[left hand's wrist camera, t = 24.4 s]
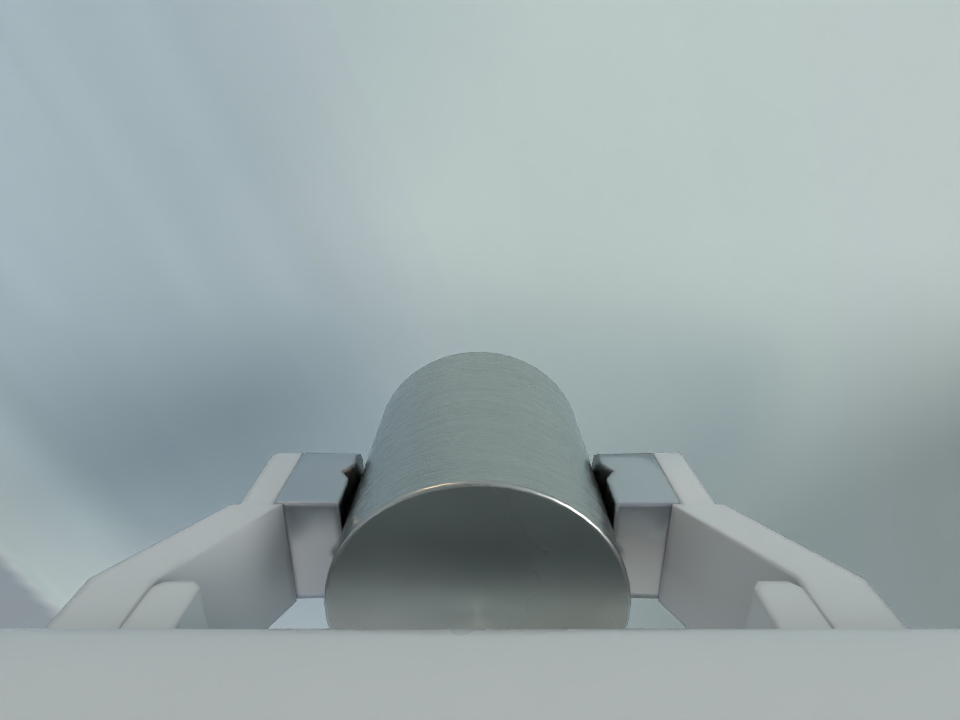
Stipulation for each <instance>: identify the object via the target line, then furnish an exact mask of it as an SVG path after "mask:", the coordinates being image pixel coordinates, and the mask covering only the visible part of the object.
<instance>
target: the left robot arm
mask: <svg viewBox="0 0 960 720" xmlns="http://www.w3.org/2000/svg"><path fill="white" fill-rule="evenodd" d="M592 469H593V472H594V475H595V478H596V481H597V484H598V487H599V490H600V493H601V496H602V499H603V502H604V505H605V508H606V511H607V514H608V517H609V520H610V523H611V526H612V528H613V531H614V534H615V537H616V540H617V543H618V546H619V549H620V552H621V555H622V558H623V561H624V564H625V567H626V570H627V574H628V578H629V583H630V592H631V598H659V599H658V601H659V602H660V603H661V604H662V605H663V606H664V607H665V608H667V609H668V610H669V611H670V612H671V613H672V614H673V615H674V616H675V617H676V618H677V619H678V620H679V621H680V622H681V623H682V624H683V625H684V626H685V627H686V628H687V629H268V628H269V627H270V626H271V625H272V624H273V623H274V622H275V621H276V620H277V619H278V618H279V617H280V616H281V615H282V614H283V613H285V612H286V611H287V610H288V609H289V608H290V607H291V606H292V605H293V604H294V603H295V602H296V598H325V584H326V579H327V575H328V570H329V568H330V565H331V562H332V559H333V556H334V553H335V550H336V548H337V545H338V542H339V539H340V536H341V533H342V531H343V528H344V525H345V522H346V519H347V516H348V514H349V511H350V508H351V505H352V502H353V499H354V496H355V494H356V491H357V488H358V485H359V482H360V479H361V477H362V474H363V471H364V466H363V459H362V457H361V455H360V454H336V453H305V454H304V453H303V452H298V453H276V454H273V455H272V456H271V458H270V459H269V461H268V462H267V464H266V465H265V467H264V468H263V470H262V472H261V473H260V475H259V476H258V478H257V479H256V481H255V482H254V484H253V485H252V487H251V488H250V490H249V491H248V493H247V494H246V496H245V497H244V499H243V500H242V502H241V503H240V504H230V505H228V506H227V507H225V508H223V509H221V510H219V511H217V512H215V513H213V514H211V515H209V516H208V517H206V518H204V519H202V520H200V521H198V522H196V523H194V524H192V525H190V526H188V527H187V528H185V529H183V530H181V531H179V532H177V533H175V534H173V535H171V536H169V537H168V538H166V539H164V540H162V541H160V542H158V543H156V544H154V545H152V546H150V547H149V548H147V549H145V550H143V551H141V552H139V553H137V554H135V555H133V556H131V557H129V558H128V559H126V560H124V561H122V562H120V563H118V564H116V565H114V566H112V567H110V568H109V569H107V570H105V571H103V572H101V573H99V574H97V575H95V576H93V577H91V578H90V579H89V580H88V581H87V582H86V583H85V584H84V585H83V586H82V587H81V589H80V590H79V591H78V592H77V593H76V594H75V595H74V596H73V597H72V599H71V600H70V601H69V602H68V603H67V604H66V605H65V606H64V608H63V609H62V610H61V611H60V612H59V613H58V614H57V615H56V617H55V618H54V619H53V620H52V621H51V622H50V623H49V624H48V625H47V627H46V628H45V629H0V720H960V629H908V628H907V627H906V626H905V625H904V623H903V622H902V621H901V620H900V619H899V618H898V617H897V615H896V614H895V613H894V612H893V611H892V610H891V609H890V607H889V606H888V605H887V604H886V603H885V602H884V601H883V599H882V598H881V597H880V596H879V595H878V594H877V593H876V591H875V590H874V589H873V588H872V587H871V586H870V584H869V583H868V582H867V581H866V580H865V579H863V578H861V577H860V576H858V575H856V574H854V573H852V572H850V571H848V570H846V569H845V568H843V567H841V566H839V565H837V564H835V563H833V562H831V561H830V560H828V559H826V558H824V557H822V556H820V555H818V554H816V553H814V552H813V551H811V550H809V549H807V548H805V547H803V546H801V545H799V544H798V543H796V542H794V541H792V540H790V539H788V538H786V537H784V536H783V535H781V534H779V533H777V532H775V531H773V530H771V529H769V528H767V527H766V526H764V525H762V524H760V523H758V522H756V521H754V520H752V519H751V518H749V517H747V516H745V515H743V514H741V513H739V512H737V511H736V510H734V509H732V508H730V507H728V506H726V505H724V504H714V502H713V501H712V499H711V498H710V496H709V495H708V493H707V492H706V490H705V488H704V487H703V485H702V484H701V482H700V481H699V479H698V478H697V476H696V475H695V473H694V472H693V470H692V469H691V467H690V466H689V464H688V463H687V461H686V460H685V458H684V457H683V455H682V454H680V453H678V452H671V453H635V454H597V455H594V458H593V462H592Z"/></svg>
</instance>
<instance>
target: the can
mask: <svg viewBox="0 0 960 720" xmlns="http://www.w3.org/2000/svg"><path fill="white" fill-rule="evenodd" d="M324 604H325V611H326V619H327V623H328V626H329V629H626V627H627V624H628V620H629V615H630V606H631V592H630V583H629V578H628V574H627V570H626V567H625V564H624V561H623V558H622V555H621V552H620V549H619V546H618V543H617V540H616V537H615V534H614V531H613V528H612V526H611V523H610V520H609V517H608V514H607V511H606V508H605V505H604V502H603V499H602V496H601V493H600V490H599V487H598V484H597V481H596V478H595V475H594V472H593V469H592V467H591V464H590V461H589V458H588V455H587V452H586V449H585V446H584V443H583V440H582V437H581V434H580V431H579V428H578V425H577V422H576V419H575V416H574V414H573V411H572V409H571V406H570V404H569V403H568V401H567V399H566V397H565V396H564V394H563V393H562V392H561V390H560V389H559V388H558V387H557V385H556V384H555V383H554V382H553V381H552V380H551V379H550V378H548V377H547V376H546V375H545V374H543V373H542V372H541V371H539V370H538V369H537V368H535V367H533V366H531V365H529V364H527V363H526V362H523V361H521V360H518V359H515V358H513V357H509V356H505V355H501V354H496V353H487V352H469V353H462V354H456V355H452V356H448V357H444V358H441V359H439V360H436V361H434V362H431V363H430V364H428V365H426V366H424V367H422V368H421V369H419V370H418V371H416V372H415V373H414V374H412V375H411V376H410V377H409V378H407V379H406V380H405V381H404V382H403V383H402V384H401V385H400V387H399V388H398V389H397V390H396V392H395V393H394V394H393V396H392V397H391V399H390V401H389V403H388V405H387V407H386V409H385V412H384V414H383V417H382V420H381V423H380V425H379V428H378V431H377V434H376V437H375V440H374V442H373V445H372V448H371V451H370V454H369V457H368V460H367V462H366V465H365V468H364V471H363V474H362V477H361V479H360V482H359V485H358V488H357V491H356V494H355V496H354V499H353V502H352V505H351V508H350V511H349V514H348V516H347V519H346V522H345V525H344V528H343V531H342V533H341V536H340V539H339V542H338V545H337V548H336V550H335V553H334V556H333V559H332V562H331V565H330V568H329V570H328V575H327V579H326V584H325V598H324Z"/></svg>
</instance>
